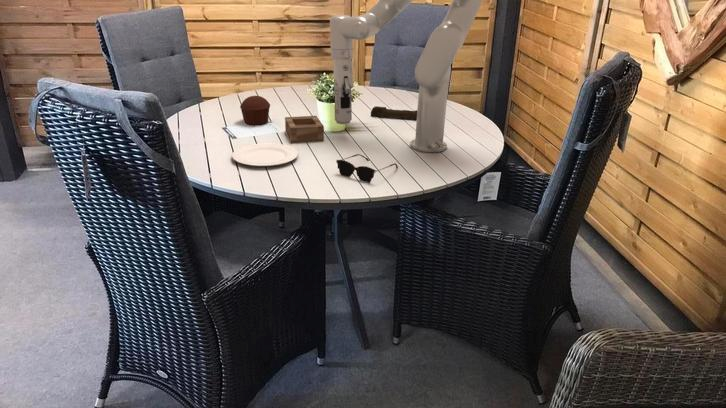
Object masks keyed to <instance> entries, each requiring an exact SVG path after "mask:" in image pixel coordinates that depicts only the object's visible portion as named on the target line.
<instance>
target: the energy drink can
mask: <svg viewBox="0 0 726 408" xmlns="http://www.w3.org/2000/svg"><path fill="white" fill-rule="evenodd" d="M349 87H350V85H349ZM342 88H345V86H342ZM343 92H344V90H343ZM349 92H350V108H345V109H341V99H340V97H341V89H340V88H339V87H338V84H337V81H336V82H335V83H334V84H333V95H334V94H335V106H334V121H335V122H336V124H338V125H347V124H351V121H352V120H353V119H352V118H353V117H352V112H353V110H352V88H350V90H349Z"/></svg>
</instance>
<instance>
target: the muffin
mask: <svg viewBox="0 0 726 408" xmlns="http://www.w3.org/2000/svg"><path fill="white" fill-rule="evenodd" d="M270 108H271V104H270V102H269V101H268V100H267V99H266V98H264V97H263V96H260V95H251V96H248V97H246V98H244V99H243V101H242V102H241V104H240V106H239V109H240V111H241V114H242V115H241V116H242V118H243V123H244V124H245V125H246V126H251V127H259V126H260V127H261V126H264V125H267V124H268V122H269V115H270Z"/></svg>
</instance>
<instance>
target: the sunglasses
mask: <svg viewBox="0 0 726 408" xmlns="http://www.w3.org/2000/svg"><path fill="white" fill-rule="evenodd" d="M358 156H360V157H362V158H364V159H365V160H366V161H368V162H369V161H370V159H369V158H367V157H366V156H365V155H362V154H360V153H358V154H353V155H350V156H346V157H345V158H344V157H343V158H342V159H336V161H335V162H336V165H337V169H338V172H339V174H340V175H341V176H343V177H348V178H350V177H351V176H352V175H354V172H356V175H357V177H358V179H359V181H361V182H364V183H365V182H366V183H369V184H370V183H371V182H372V179H374V176H375V174H376V173H377V172H380V171H382V170H385V169H387V168H391V167H392V166H395V169H399V166H398V165H397V163H392V164H389V165H387V166H385V167H382V168H380V169H373V168H372V167H369V166H363V165H362V166H357V167H356V166H355V164H353V163H351V162H350V161H346V160H348V159H350V158H353V157H358Z"/></svg>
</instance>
